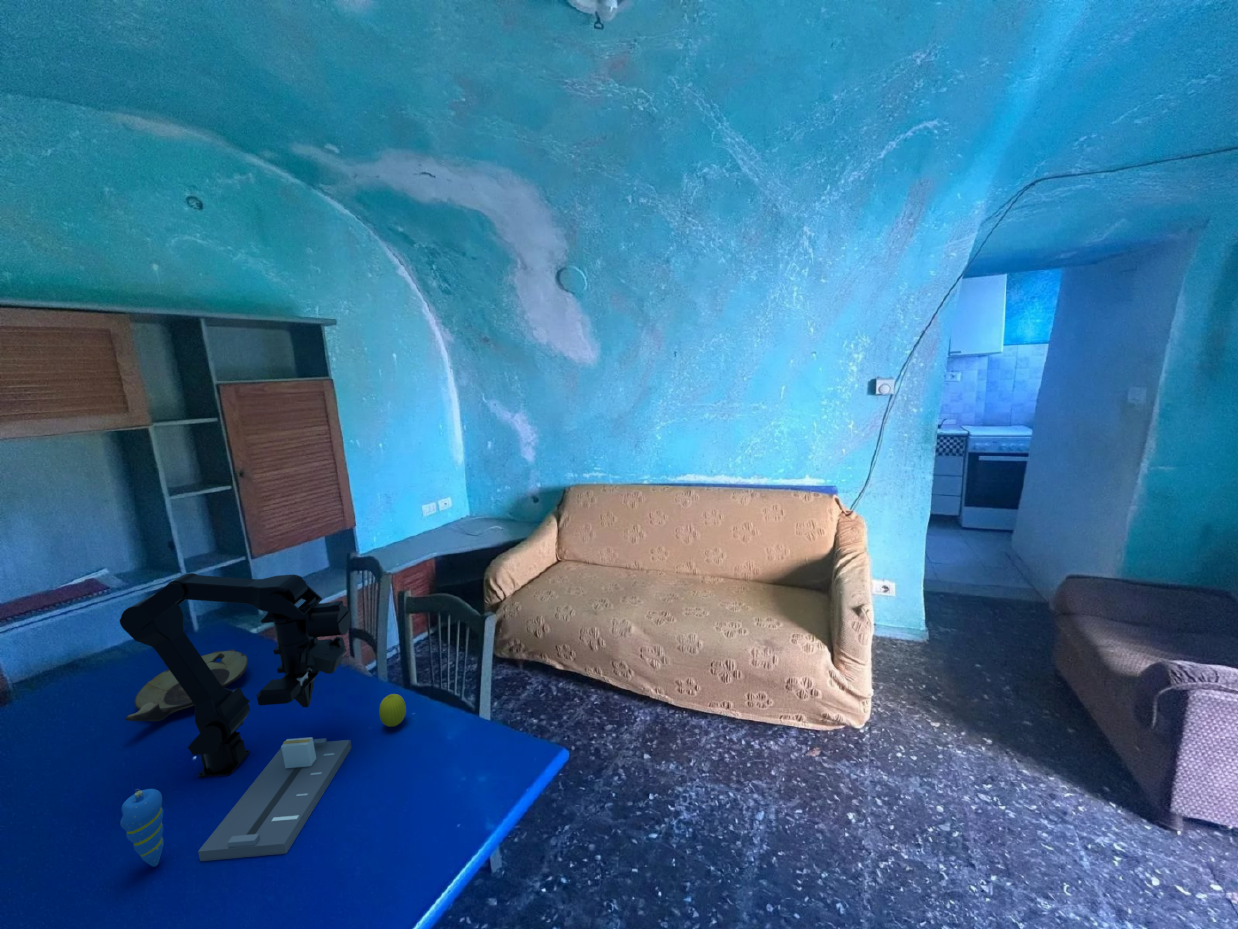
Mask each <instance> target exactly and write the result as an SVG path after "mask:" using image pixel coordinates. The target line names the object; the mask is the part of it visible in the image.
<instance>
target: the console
mask: <svg viewBox="0 0 1238 929" xmlns="http://www.w3.org/2000/svg"><path fill="white" fill-rule="evenodd" d="M313 743H314V748H315V754H316V760H315V761H314V763H313V764H312V766H307V767H295V768H285V763H284V758H283V753H282V748H281V747H280V749H278V751H277V752H276V754H275V755H274V756H273V757H272V759H271V760H270V761H269V762H268V763H267V765H266V766H265V767H264V769H263V770H262V771H261V772H260V773H259V774H258V776H257V777H256V778H255V780H254V781H253V782H252V783H251V785H250V786H249V787H248V789H247V790H246V791H245V792H244V794H243V795H242V796H241V797H240V798H239V800H238V801H237V802H236V804H234V806H233V807H232V808H231V810H230V811H229V812H228V814H227V815H226V816H225V817H224V818H223V820H222V821H220V823H219V825H218V826H217V827H216V829H215V830H214V831H213V832H212V834H211V835H210V836H209V837H208V839H207V840H206V841H205V842H204V843H203V844H202V846H201V847H200V848H199V850H198V851H197V853H198V857H199V861H200V862H208V861H219V860H221V861H222V860H228V859H229V860H230V859H240V858H241V859H242V858H252V857H264V856H274V855H285V854H287V853H288V852H289V851H290V848H291V846H292V845H293V844H294V842H295V840H296V839H297V837H298V835H299V833H301V831H302V829H303V828H304V827H305V824H306V822H307V821H308V820H309V817H310V816H311V814H312V813H313V812H314V809H315V808H316V806H317V805H318V804H319V801H321V799H322V796H323V795H324V793H325V792H326V790H327V788H328V786H330V784H331V782H332V781H333V779H334V777H335V775H336V774H337V772H338V770H339V769H340V768H341V766H342V764H343V763H344V761H345V760H346V758H347V756H348V754H350V751H351V750H352V741H351V739H344V740H342V739H341V740H333V741H331V740H329V741H328V740H327V738H326V737H325V738H313Z"/></svg>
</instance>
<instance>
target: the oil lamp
mask: <svg viewBox="0 0 1238 929" xmlns="http://www.w3.org/2000/svg"><path fill="white" fill-rule="evenodd" d="M201 657H202V658H203V660H204V661H205V663H206V664H207V666H208V667H209V668H210V670H211V671H212V673H213V674H214V676H215V677H216V678H217V680H218V681H219V683H220V684H221V686H222V687H224V688H225V687H227V686H229V685H230V684H231V683H234V682H236V681H237V680H238V679H239V678H241V677H242V676H243V675H244V673H245V672H246V671H247V669H248V665H249V659H248V656H247V655H246V654H245V653H243V652H241V651H238V650H235V649H233V648H232V649H229V650H224V651H223V650H217V651H213V652H211V653H208V654H207V653H206V654H204V655H201ZM218 659H220V661H218V662H216V661H217V660H218ZM133 703H134V707H135V709H137V712H135V713H131V714H128V715H126V718H125V719H124V720H125V721H127V722H160V721H163V720H165V719H167V718H168V716H170V715H171V714H173V713H175V712H179V711H183V710H184V709H189V708H191V707H195V705H194V703H193V702H192V701H191V699H190V698H189V696H188V695H187V694H186V692H185V691H184V689H183V688H182V687H181V685H180V684H179V683H178V681H177V680H176V678H175V677H174V676H173V674H172V673H171V671H170V670H169V669H166V670H164V671H163V672H161V673H159V674H157V675H156V676H154V677H153V678H152V679H151V680H148V681H147V682H146V683H145V684H144V686H142V688H140V690H139V691H138V692H137V694H136V696H135V697H134V702H133Z"/></svg>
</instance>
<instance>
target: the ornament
mask: <svg viewBox="0 0 1238 929" xmlns="http://www.w3.org/2000/svg"><path fill="white" fill-rule="evenodd" d="M134 791H135V793H134V794H132V795H131V796H129V797H128V798H127V799H126V800H125V801H124V802H123V804H122V806H121V814H122V817H121V819H120V827H121V828H122V829H123V830H124V831H126V833H125V835H126V836H125V837H126V839H127V840H128V841H129V842H131V843H132V844H133V849H134V851H135V852H136V853H137V854H138V855H139V856H140V858H141V860H142V861H143V862H144V863H146V864H148V865H149V866H151V867H152V868H155V867H157V866H158V865H159V863H160V858H161V855H162V852H163V848H164V844H165V841H164V840H165V839H164V836H163V832H164V824H163V822H162V821H163V819H164V818H163V817H164V809H163V806H162V805H163V795H162V793H161V791H160V790H158V789H156V788H146V789H143V790H138V791H137V789H135V790H134Z"/></svg>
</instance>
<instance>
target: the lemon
mask: <svg viewBox="0 0 1238 929" xmlns="http://www.w3.org/2000/svg"><path fill="white" fill-rule="evenodd" d="M406 706H407V705H406V702H405V700H404V697H402V696H401V695H400V694H396V693H391V694H388V695H386V697H384V698H383V699H382V700H381V702H380V704H379V709H378V710H379V711H378V713H379V718H380V721H381V723H382V724H383V725H384V726H385V727H386V726H387V727H390V728H391V727H393V728H394V727H397V726H398V725H399V724H401V723H402V722H403V720H404V719H405V717H406V714H407V707H406Z"/></svg>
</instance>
